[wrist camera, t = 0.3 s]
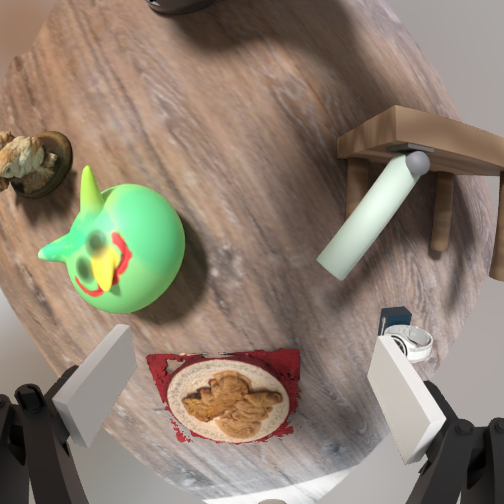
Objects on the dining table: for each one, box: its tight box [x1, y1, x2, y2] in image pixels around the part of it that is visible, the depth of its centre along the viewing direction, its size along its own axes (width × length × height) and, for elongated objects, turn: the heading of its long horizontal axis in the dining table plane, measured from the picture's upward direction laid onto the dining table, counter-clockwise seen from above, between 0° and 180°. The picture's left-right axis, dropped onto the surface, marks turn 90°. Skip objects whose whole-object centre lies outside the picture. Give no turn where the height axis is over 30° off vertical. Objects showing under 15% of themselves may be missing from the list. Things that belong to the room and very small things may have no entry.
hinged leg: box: [316, 151, 430, 281], centre depth 23 cm, size 13×3×4 cm, turn 144°
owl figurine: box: [0, 131, 72, 199], centre depth 32 cm, size 18×12×17 cm, turn 102°
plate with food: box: [146, 348, 301, 445], centre depth 48 cm, size 25×26×4 cm
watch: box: [378, 306, 433, 364], centre depth 39 cm, size 6×8×11 cm
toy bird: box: [38, 166, 185, 314], centre depth 36 cm, size 18×17×15 cm
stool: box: [337, 105, 504, 281], centre depth 30 cm, size 15×20×20 cm
